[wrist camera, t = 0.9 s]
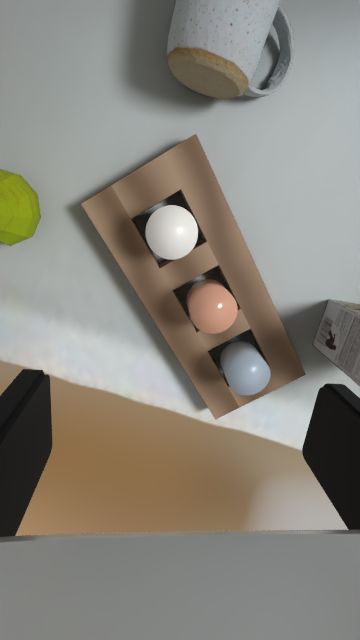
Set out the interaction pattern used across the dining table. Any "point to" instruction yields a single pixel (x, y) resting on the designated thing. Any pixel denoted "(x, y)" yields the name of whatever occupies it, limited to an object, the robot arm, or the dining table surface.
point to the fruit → (17, 209)
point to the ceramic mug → (226, 45)
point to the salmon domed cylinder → (211, 306)
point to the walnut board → (194, 270)
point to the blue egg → (244, 368)
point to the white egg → (171, 232)
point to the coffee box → (341, 337)
